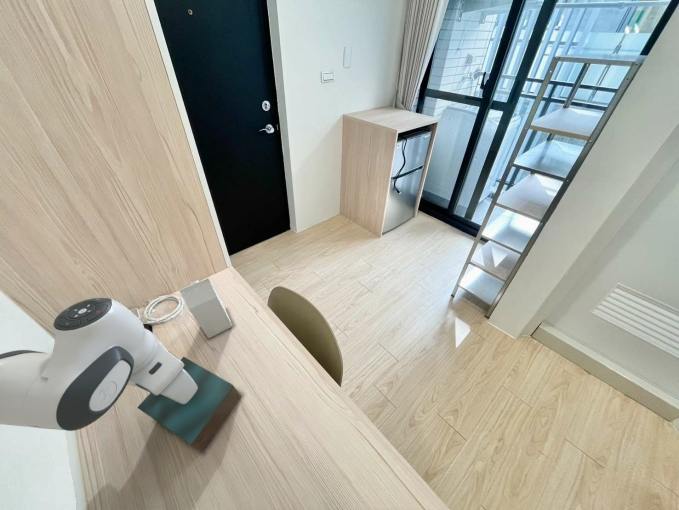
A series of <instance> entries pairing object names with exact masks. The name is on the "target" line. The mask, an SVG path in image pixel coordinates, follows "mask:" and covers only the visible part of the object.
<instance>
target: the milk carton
mask: <svg viewBox="0 0 679 510" xmlns="http://www.w3.org/2000/svg"><path fill="white" fill-rule="evenodd" d="M178 291H179V292H180V294H181V297H182V298H183V300H184V303H185V305H186V307H187V309H188V311H189V312H190V313H191V315H192V316H193V318H194V319H195V321H196V322H197V324H198V325H199V326H200V328H201V330H202V331H203V333H204V334H205V335H206V337H207V338H208V339H210V338H212V337H215V336H217V335H218V334H220V333H222V332H224V331H226V330H229V329H230V328H232V327H233V324H232V321H231V319H230V317H229V315H228V313H227V310H226V308H225V306H224V304H223V302H222V300H221V298H220V297H219V295H218V293H217V291H216V288H215V287H214V285H213V283H212V282H211V279H209V277H206V278H204V279H202V280H200V281H199V279H197V280H194V281H192V282H190V283H189V285H187V286H184V287H182V288H180V289H178Z"/></svg>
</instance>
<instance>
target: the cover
mask: <svg viewBox="0 0 679 510" xmlns="http://www.w3.org/2000/svg"><path fill="white" fill-rule="evenodd" d="M180 360H181V361H182V362H183V363H184V367H183V369H184V370H185V371H186V372H187V373H188V374H189V375H190V377H191V378H192V379H193V380H194V382H195V383H196V385H197V387H198V389H197V391H196V393H195V394H194V395H193V397H192V398H191V399H190V400H189V401H188V402H187V403H186V404H181V403H178V402H176V401H174V400H172V399H170V398H168V397H166V396H164V395H161V394H159V395H154V394H153V393H150V392H149V394H148V395H147V396H146V397H145V398H144V399H143V400H142V402H141V403H139V405H138V406H137V409H139V410H140V411H141V412H142V413H144V414H145V415H147V416H148V417H149V418H151V419H153V420H154V421H155V422H157V423H158V424H160V425H161V426H163V427H165V429H167V430H168V431H170V432H171V433H173V434H174V435H175V436H177V437H179V438H180V439H181V440H183V441H184V442H186V443H187V444H188V445H190V446H192V443H193V442H194V441H195V439H196V438H197V437H198V435H199V434H200V432H201V431H202V430H203V428H204V427H205V425H206V424H207V423H208V421H209V420H210V418H211V417H212V416H213V414H214V413H215V411H216V410H217V409H218V407H219V406H220V404H221V403H222V402H223V400H224V399H225V397H226V396H227V395H228V393H229V392H230V391H231V389H232V388H233V386H234V385H233V383H230V382H229V381H227V380H226V379H223V378H222V377H220V376H219V375H217V374H215V373H213V372H211V371H210V370H208V369H207V368H205V367H203V366H202V365H199V364H198V363H196V362H194V361H192V360H190V359H189V358H187V357H185V356H182V358H181V359H180Z"/></svg>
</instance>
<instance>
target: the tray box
mask: <svg viewBox="0 0 679 510" xmlns="http://www.w3.org/2000/svg"><path fill="white" fill-rule="evenodd" d="M241 398H242V394H240V393H239V391H238V390H237V388H236V387H235V386H234V385H233V388H232V389H231V391H230V392H229V393H228V395H227V396H226V397H225V399H224V400H223V402H222V403H221V404H220V406H219V407H218V409H217V410H216V411H215V413H214V414H213V416H212V417H211V418H210V420H209V421H208V423H207V424H206V425H205V427H204V428H203V430H202V431H201V432H200V434H199V435H198V437H197V438H196V439H195V441H194V442H193V443H192V445H191V446H192V447H194V448H196V449H197V450H199V451H201V452H202V453H203V452H205V450H206V449H207V447H208V446H209V444H211V442H212V440H213V439H214V437H215V436H216V435H217V432H218V431H219V430H220V428H221V427H222V425H223V424H224V422H225V421H226V420H227V418H228V417H229V415H230V414H231V412H232V411H233V409H234V408H235V406H236V405H237V403H239V400H240V399H241Z"/></svg>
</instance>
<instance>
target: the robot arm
mask: <svg viewBox="0 0 679 510" xmlns="http://www.w3.org/2000/svg"><path fill="white" fill-rule="evenodd" d="M52 328H53V332H54V344H53V350H52V352H51V353H50V352H43V351H37V350H32V349H18V350H11V351H8V352H4V353H3V352H2V353H0V425H5V426H6V425H7V426H15V427H16V426H17V427H26V428H27V427H28V428H35V429H36V428H37V429H43V430H45V429H46V430H56V431H67V432H74V431H78V430H79V431H80V430H82V429H84V428H86V427H88V426H90V425H91V424H93V423H95V422H96V421H97V420H100V419H101V418H102V417H103V416H104V415H105V414H106V413H107V412H108V411H109V410H110V409H111V408H112V407H113V406H114V405H115V404H116V402H117V401H118V400H119V399H120V398H121V396H122V394H123V393H124V392H125V389H126V388H127V386H128V385H129V386H132V387H136V388H140V389H142V390H144V391H146V392H148V393H149V394H150V393H153V394H154V395H159V394H161V395H164V396H166V397H168V398H170V399H172V400H174V401H176V402H178V403H181V404H186V403H187V402H188V401H189V400H190V399H191V398H192V397H193V395H194V394H195V393H196V391H197V389H198V387H197V385H196V383H195V382H194V380H193V379H192V378H191V377H190V375H189V374H188V373H187V372H186V371H185V370H184V369H183V367H184V363H183V362H182V361H181V359H180V358H178V357H177V356H176V355H174V354H173V353H172V352H171V351H169V350H168V348H167V347H166V345H164V343H162V341H160V339H159V338H158V337H157V336H156V335H155V334H154V333H153V332H152V331H150V330H149V329H148V328H145V326H144V323H143V322H142V321H141V319H140V318H139V317H138V316H137V315H135V313H134V312H133V311H131V310H130V309H129V308H128V307H126V306H125V305H124V304H122V303H121V302H119V301H117V300H115V299H113V298H110V297H93V298H87V299H84V300H82V301H81V300H80V301H79V302H76V303H74V304H72V305H70V306H69V307H66V308H65V309H64V310H62V311H61V312H60V313H58V315H57V316H56V317H55V318H54V319H53V323H52Z"/></svg>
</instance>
